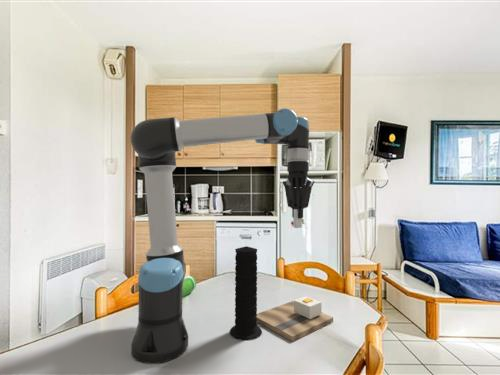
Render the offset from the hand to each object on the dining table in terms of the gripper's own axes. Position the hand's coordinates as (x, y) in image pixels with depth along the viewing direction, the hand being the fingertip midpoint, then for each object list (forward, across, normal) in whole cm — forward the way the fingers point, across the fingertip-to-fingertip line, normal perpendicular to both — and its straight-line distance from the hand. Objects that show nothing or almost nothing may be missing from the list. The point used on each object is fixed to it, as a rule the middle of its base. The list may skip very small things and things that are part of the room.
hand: (297, 227), depth 99 cm
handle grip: (+31, +2, +22) cm, 38 cm away
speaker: (+32, +41, +26) cm, 58 cm away
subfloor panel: (+31, -2, +5) cm, 31 cm away
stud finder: (+29, -4, 0) cm, 29 cm away
